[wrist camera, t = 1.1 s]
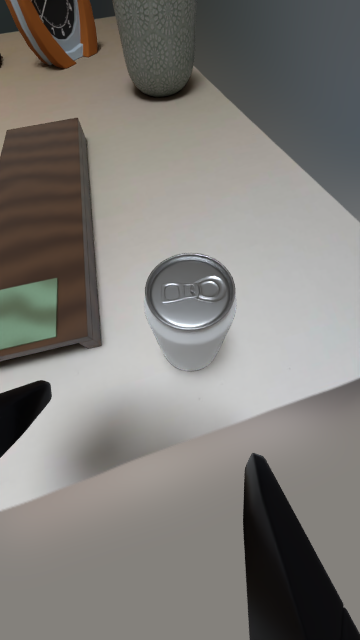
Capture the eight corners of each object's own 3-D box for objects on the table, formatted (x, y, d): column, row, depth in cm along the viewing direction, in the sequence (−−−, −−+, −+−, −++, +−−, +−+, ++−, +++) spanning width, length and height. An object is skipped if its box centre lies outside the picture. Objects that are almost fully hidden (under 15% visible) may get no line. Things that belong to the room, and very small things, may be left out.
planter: (154, 70, 56) (143, -42, 42) (207, 81, 52) (213, -41, 38) (116, 96, 51) (88, -24, 37) (171, 109, 46) (163, -20, 32)
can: (221, 369, 22) (253, 331, 11) (163, 374, 22) (137, 342, 11) (213, 316, 25) (231, 243, 14) (161, 321, 25) (138, 252, 14)
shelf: (101, 345, 24) (86, 335, 20) (-19, 374, 23) (-54, 368, 20) (86, 139, 43) (77, 116, 39) (20, 151, 42) (5, 128, 39)
